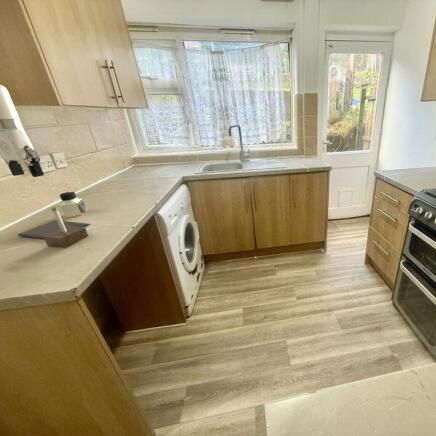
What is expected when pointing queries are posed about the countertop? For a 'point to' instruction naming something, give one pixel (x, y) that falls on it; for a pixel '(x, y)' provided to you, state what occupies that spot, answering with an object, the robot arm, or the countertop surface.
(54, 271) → the countertop surface
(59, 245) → the pen stand
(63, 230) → the stylus
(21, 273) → the countertop surface
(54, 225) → the plate
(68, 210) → the medicine bottle
